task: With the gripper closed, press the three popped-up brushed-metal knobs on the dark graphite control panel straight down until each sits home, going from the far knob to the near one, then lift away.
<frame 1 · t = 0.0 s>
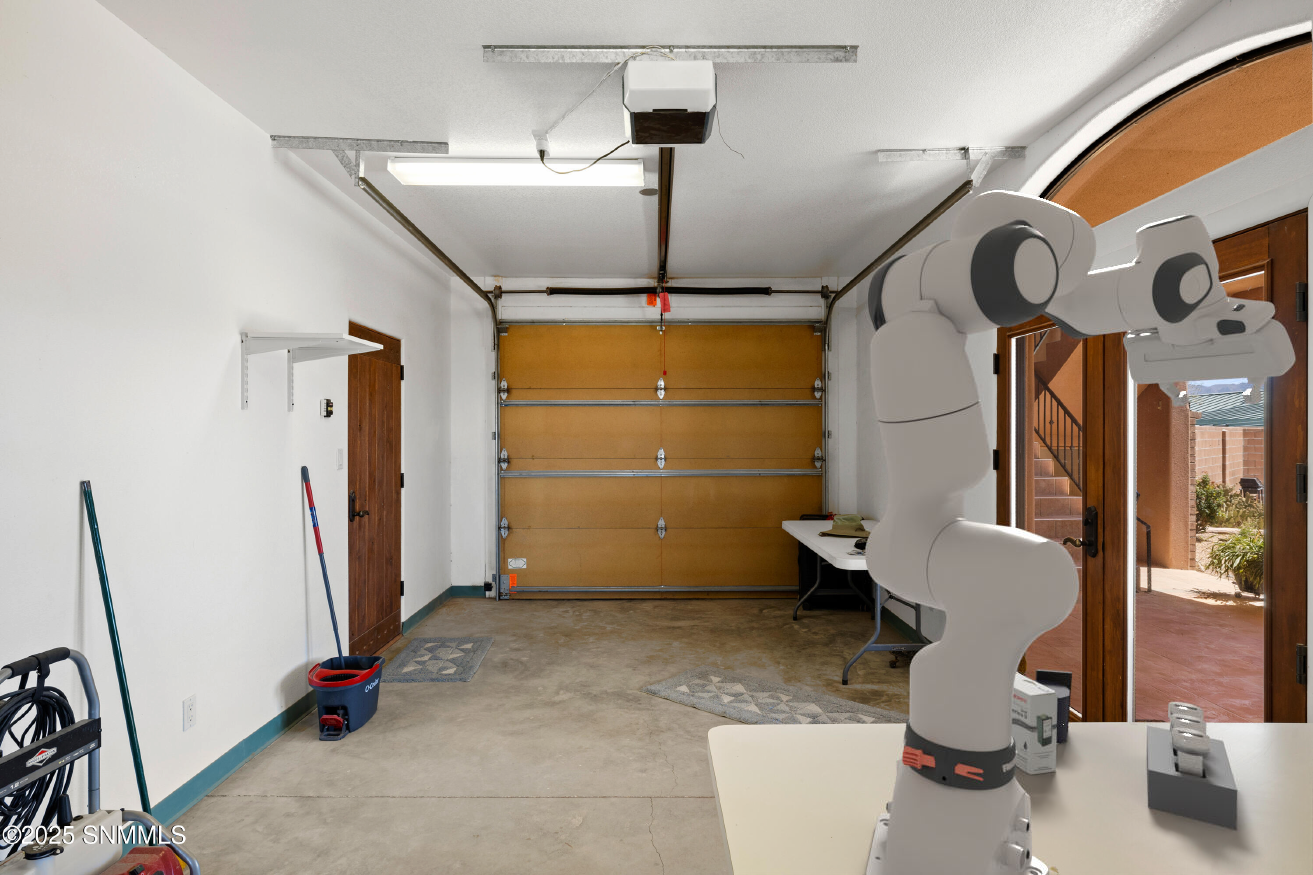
hand: (1216, 403, 105), 54 cm above the table, tool tilted 30°, fingers open, 8 cm apart
ink box: (1021, 761, 104), on the table
speaker: (1052, 737, 112), on the table
control panel: (1187, 790, 95), on the table
near knob: (1190, 752, 90), point 7 cm above the table, slide at 2.5 cm
middle knob: (1187, 737, 95), point 7 cm above the table, slide at 2.5 cm
far knob: (1185, 723, 99), point 7 cm above the table, slide at 2.5 cm
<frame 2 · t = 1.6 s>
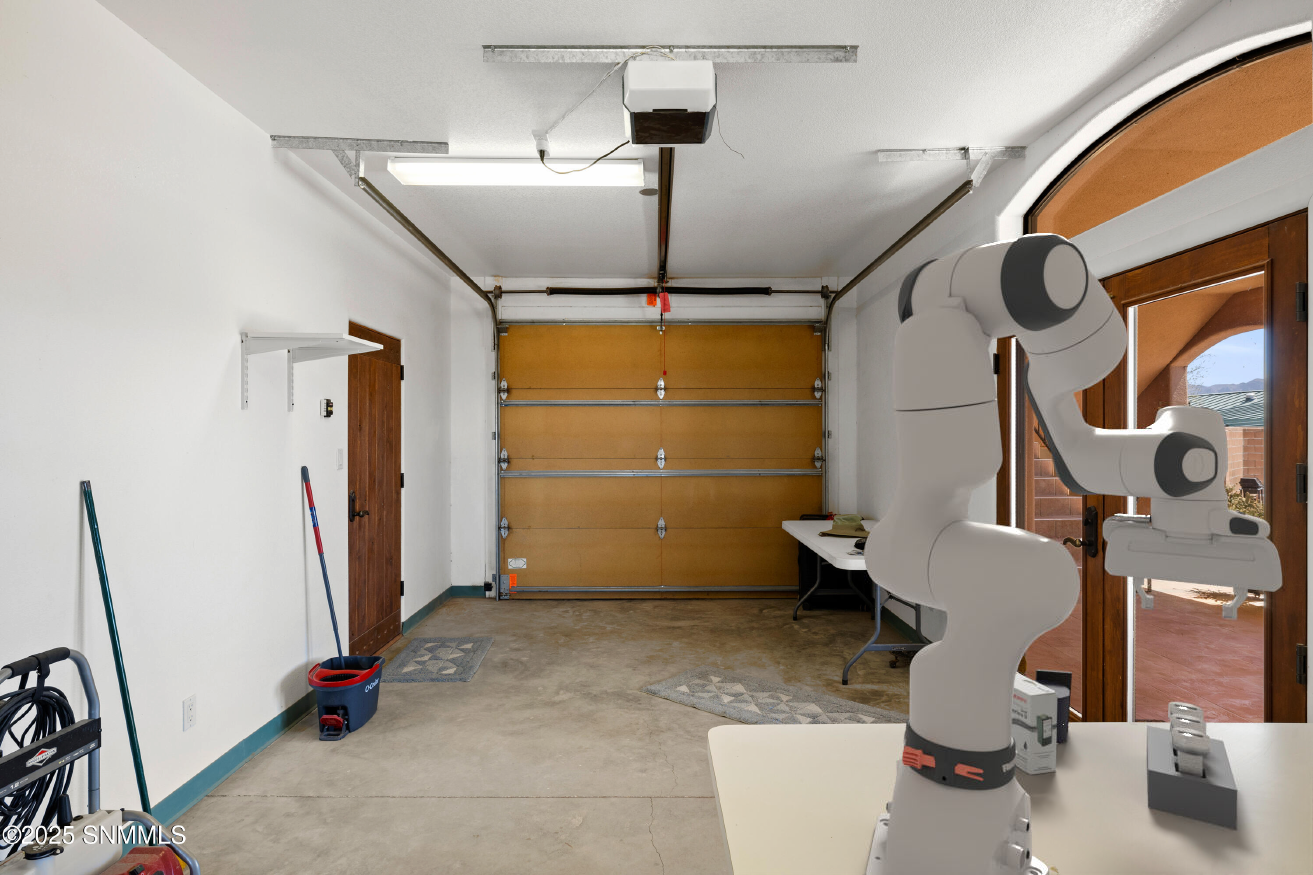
hand: (1187, 613, 99), 23 cm above the table, tool pointing down, fingers open, 8 cm apart
nothing on the table moved.
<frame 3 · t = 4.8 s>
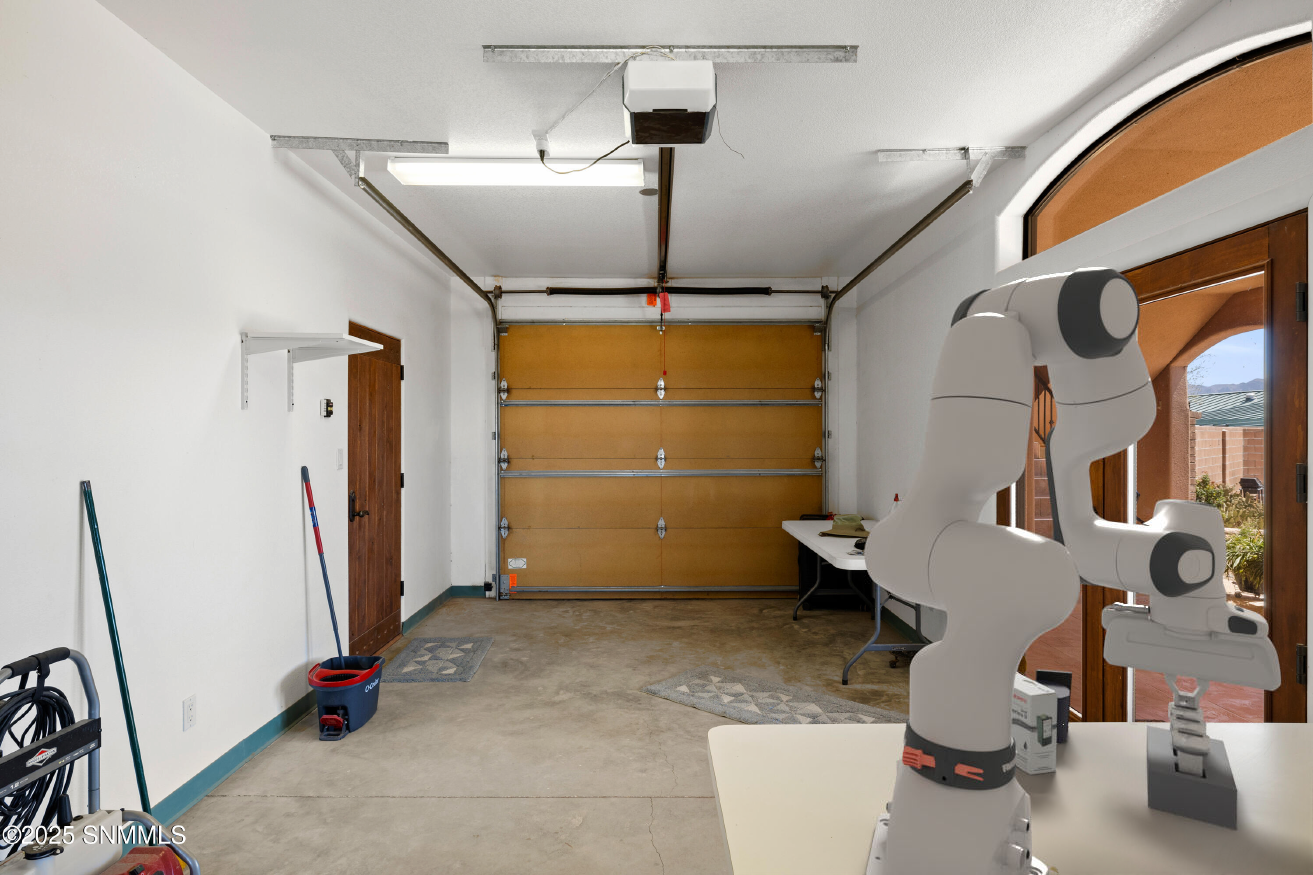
hand: (1186, 705, 100), 10 cm above the table, tool pointing down, fingers closed, pressing on far knob
far knob: (1185, 723, 99), point 7 cm above the table, slide at 2.5 cm, touching gripper
everything else where it was.
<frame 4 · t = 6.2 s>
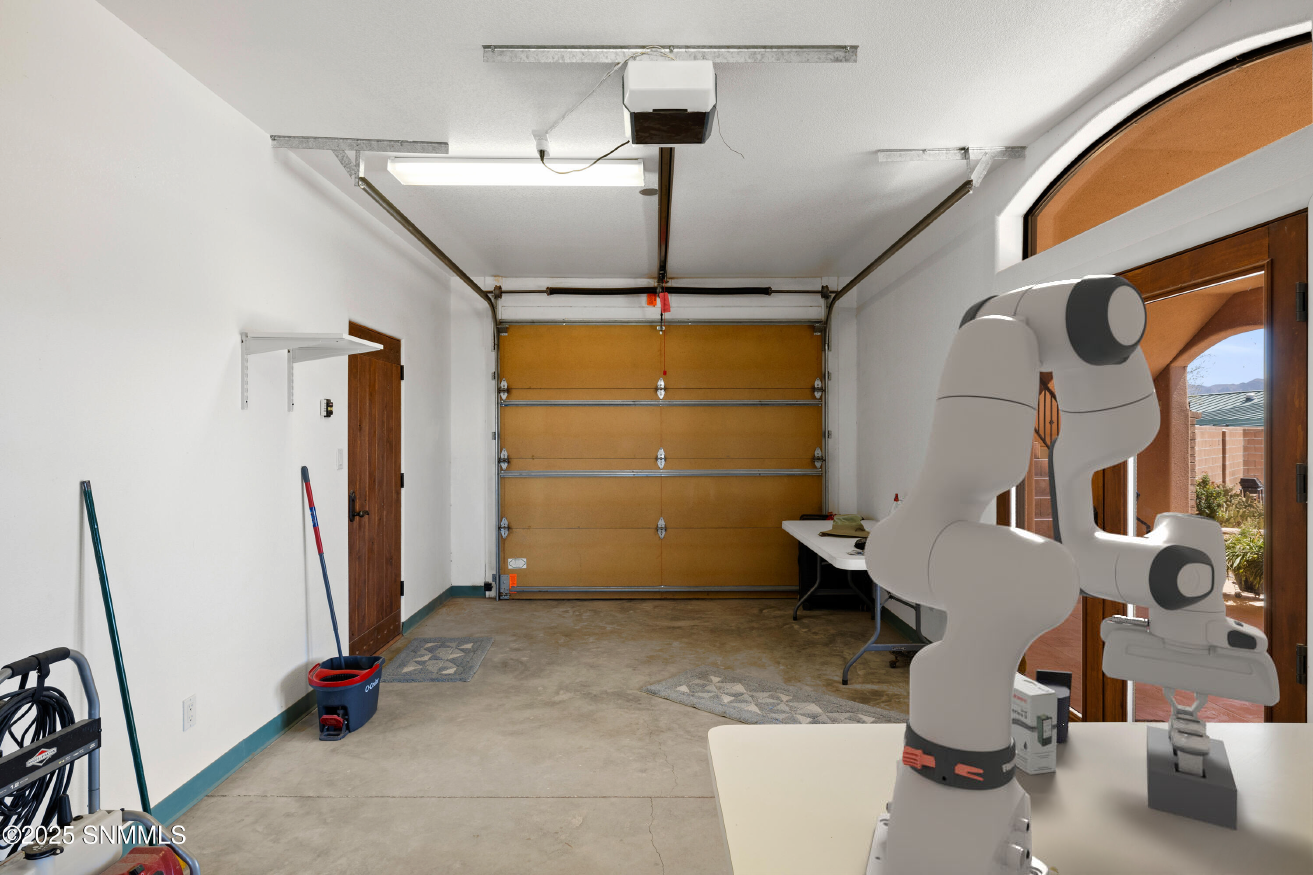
hand: (1184, 719, 99), 8 cm above the table, tool pointing down, fingers closed
far knob: (1185, 741, 99), point 5 cm above the table, slide at -0.1 cm
everything else where it was.
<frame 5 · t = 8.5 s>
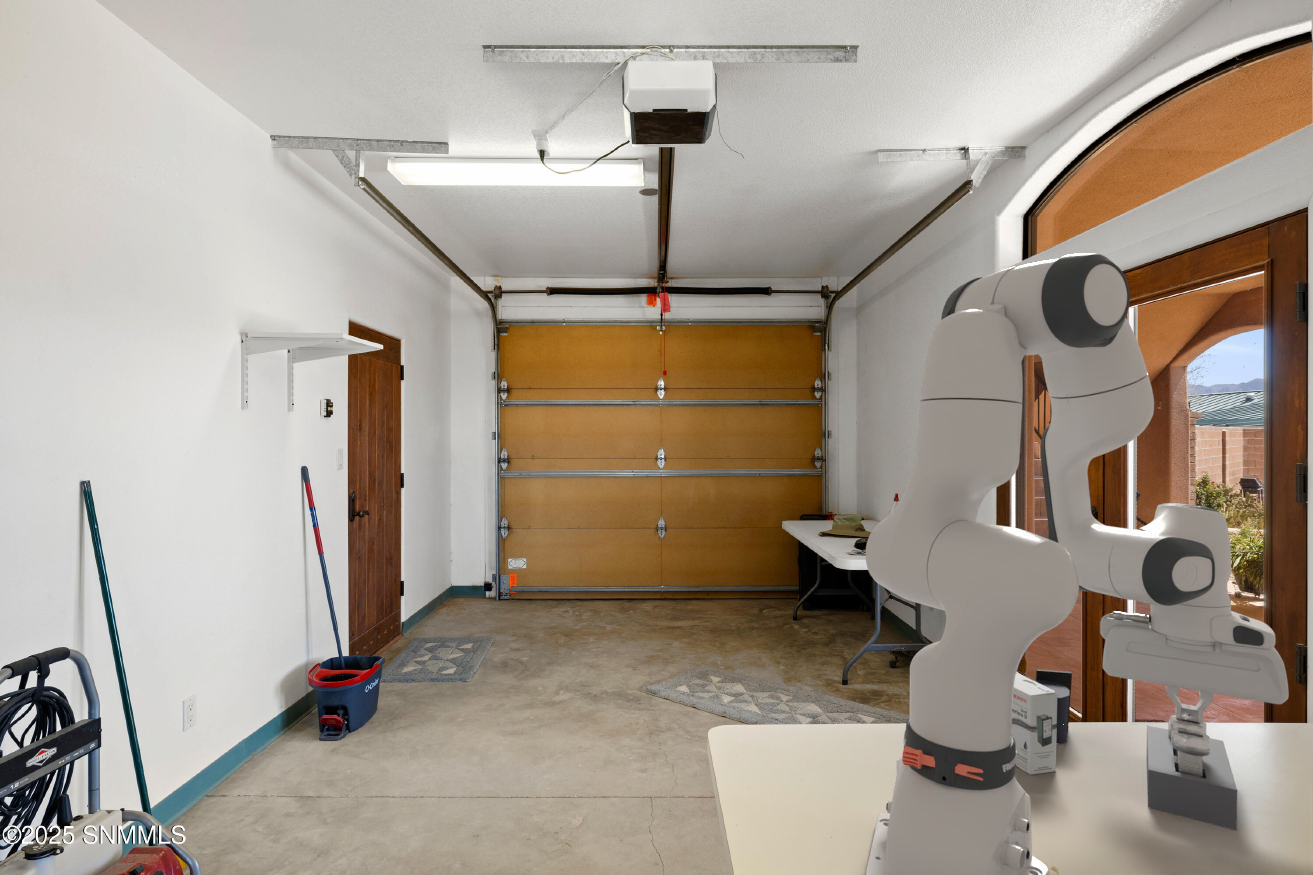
hand: (1188, 719, 95), 10 cm above the table, tool pointing down, fingers closed, pressing on middle knob
middle knob: (1187, 738, 95), point 7 cm above the table, slide at 2.4 cm, touching gripper
everything else where it was.
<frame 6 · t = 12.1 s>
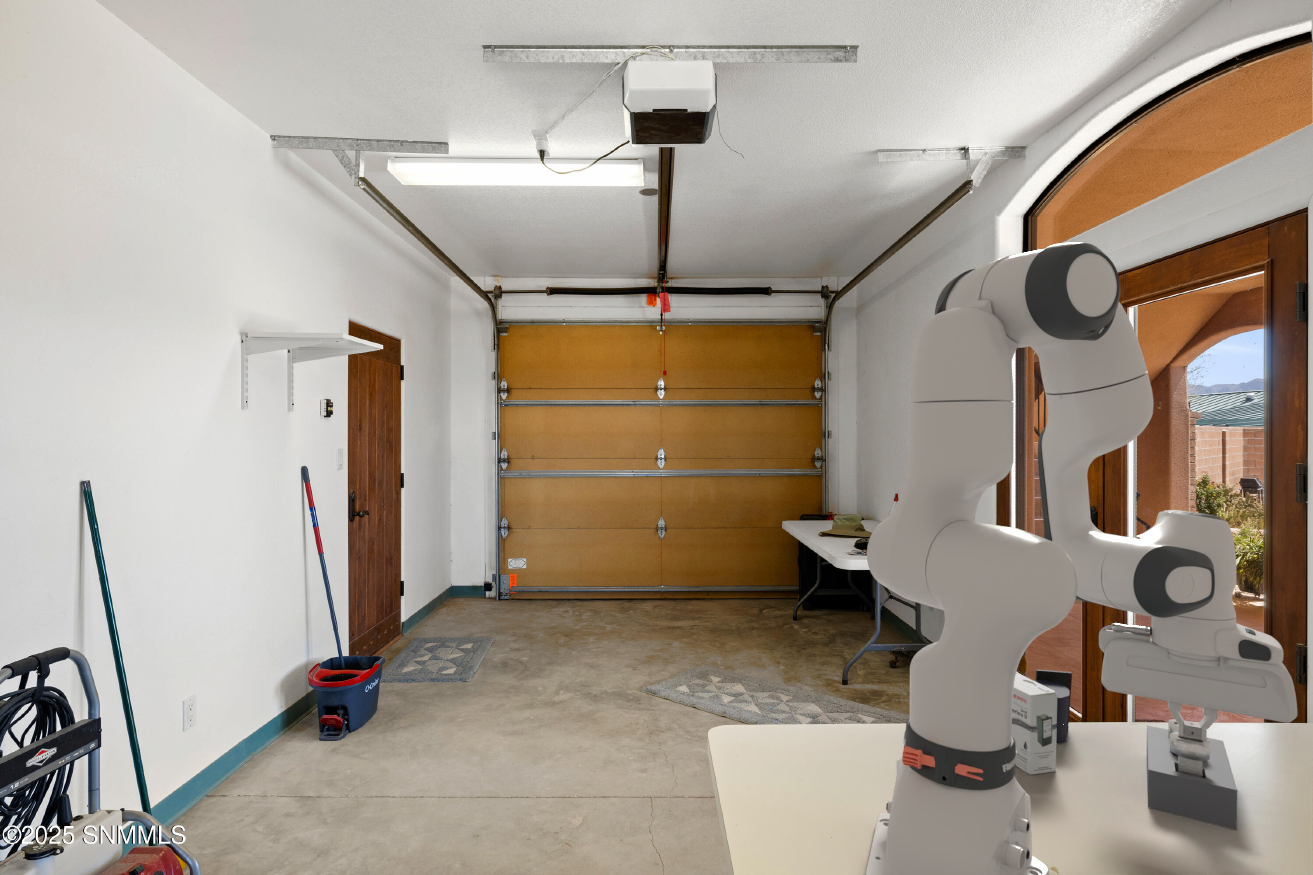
hand: (1192, 737, 91), 9 cm above the table, tool pointing down, fingers closed
near knob: (1190, 757, 90), point 7 cm above the table, slide at 1.9 cm, touching gripper
middle knob: (1187, 756, 95), point 5 cm above the table, slide at -0.1 cm
everything else where it was.
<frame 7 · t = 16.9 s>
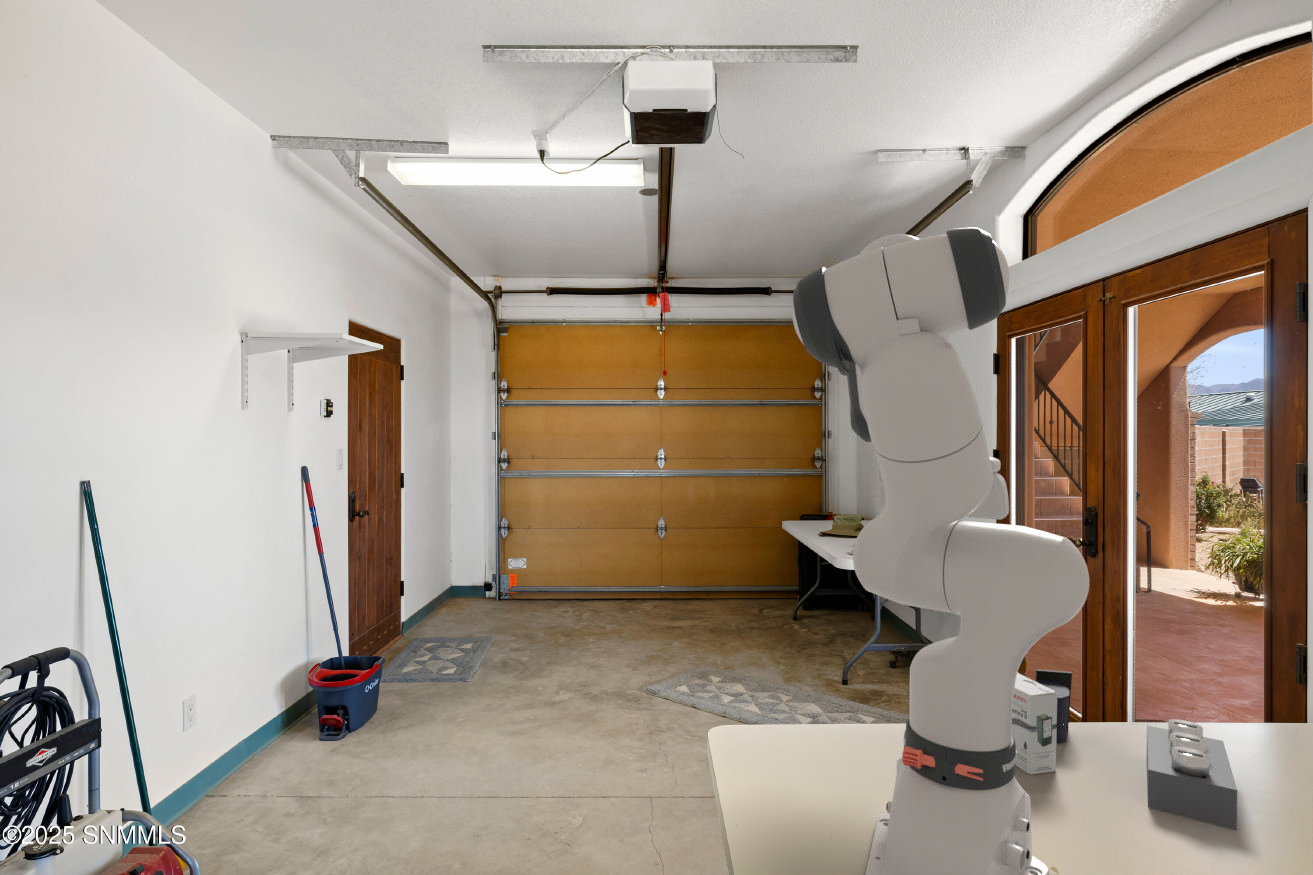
hand: (940, 542, 115), 31 cm above the table, tool pointing down, fingers closed
near knob: (1190, 771, 90), point 5 cm above the table, slide at -0.1 cm
everything else where it was.
at the end: far knob slide at -0.1 cm; middle knob slide at -0.1 cm; near knob slide at -0.1 cm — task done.
